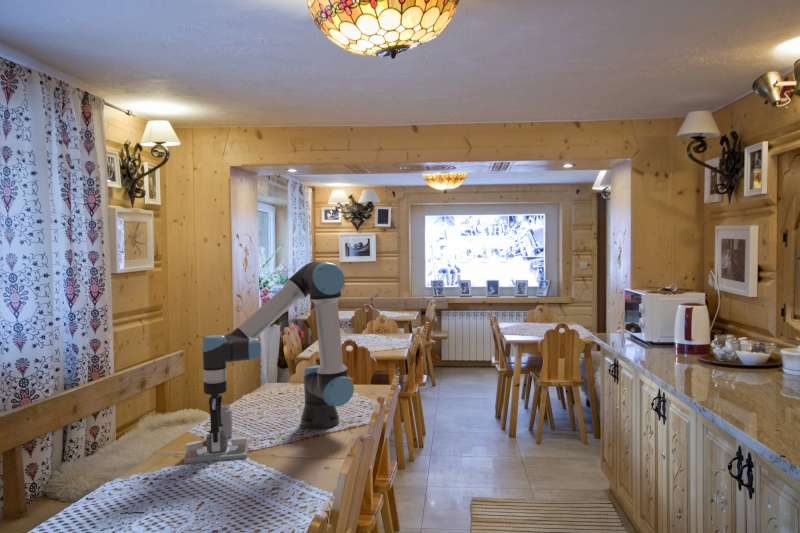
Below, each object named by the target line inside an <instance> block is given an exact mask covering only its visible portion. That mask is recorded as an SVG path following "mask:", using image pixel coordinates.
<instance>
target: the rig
mask: <svg viewBox="0 0 800 533" xmlns="http://www.w3.org/2000/svg"><path fill="white" fill-rule="evenodd" d="M248 450H249V442H248V436H235V437H232V438H231V444H228V448H227V449H225V450H224V452H217V453H210V451H207V446H203V441H202V440H197V441H196V440H195V441H192V442H188V443H185V456H184V459H183V464H184V465H185V464H194V462H197V463H203V462H202V461H208V462H214V461H213V460H219V461H227V460H228V459H229V460H230V461H231V460H240V459H247V456H248Z"/></svg>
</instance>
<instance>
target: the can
mask: <svg viewBox="0 0 800 533" xmlns="http://www.w3.org/2000/svg"><path fill="white" fill-rule="evenodd" d="M221 421H222V422H221V424H223V426H222V427H221V431H224V433H227V437H228V439H229V438H231V436H232V435H233V409H232V407H231V405H230V404H228V403H221Z"/></svg>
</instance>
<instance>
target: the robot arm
mask: <svg viewBox="0 0 800 533" xmlns="http://www.w3.org/2000/svg"><path fill="white" fill-rule="evenodd" d="M345 280H346V279H345V274H344V271H343V270H342V269H341V267H339V265H337V264H335V263H332V262H330V261H312V262H309V263H307V264H305V265H303V266H302V267H301V268H299V269H298V270H297V271H296V272H295V273H294V274H292V276H290V278H288V279H287V280H286V284H285V285H284V286H283V287H282V288H280V290H278V292H276V293H275V294H274V295H273V296H272V297H271V298H269V299H268V300H267V301H266V302H265V303H264V304H263V305H262V306H260V307H259V308H258V309H257V310H256V311H255V312H253V313H251V315H249V317H247V319H245V320H244V321H243V322H242V323H241V324H239V325H238V326H237V327H236V328H235V329H234V330H232V331H231V332H229V333H226V334H212V335H210V334H209V335H206V336H204V337H203V339H202V349H201V350H202V365H203V366H202V369H203V370H202V372H201V373H200V374H201V375H202V376H203V378H202V379H203V393H204V394H205V395H210V397H209V399H208V405H209V414H210V415H209V417H210V418H209V419H210V431H208V434H210V433H211V442H212V452H217V451H220V432H219V431H221V427H222V426H223V424H221V422H222V421H221V404H222V403H223V398H222V395H221V394H224V393H226V392H227V388H228V387H227V381H226V380H227V378H228V377H227V363H233V362H242V361H252V360H256V359H257V360H258V359H259V358H260V357H261V355H262V346H261V341H260V339H259V338H258V337H259V336H261V334H262V333H263V332H264V331H266V329H267V328H269V327H270V326H271V325H273V323H275V322H276V321H277V320H278V319H279V318H280V317H281V316H282V315H283V314H284V313H286V312H287V311H288V310H289V309H290V308H292V306H294V305H295V304H296V303H297V302H298V301H299V300H304V299H305V298H306V297H308V296H309V299H310V301H311V302H313V304H314V309H315V320H316V322H315V323H316V331H317V333H316V334H317V342H318V343H317V344H318V353H319V354H318V355H319V363H320V365H319V364H318V365H313V366H307V367H305V368H304V370H303V383H304V384H303V385H304V387H303V388H304V407H303V411H302V414H301V418H300V425H301V427H304V428H307V429H317V430H318V429H326V428H331V427H334V426H336V425H338V424H339V423H340V417H339V413H338V409H337V407H342V406H344V405H346V404H348V403H349V402H350V400H351V399H352V398H353V395H354V391H355V386H354V385H355V384H354V383H353V381H352V380H351V378H350V377H349V372H348V371H349V370H348V367H347V366H346V365H345V364H344V360H343V359H344V358H343V349H342V340H341V339H342V338H341V328H340V327H341V325H340V315H339V314H340V313H339V300H340V299H341V298H342V294H341V293H342V291H341V290H342V289H343V288H344V285H345Z"/></svg>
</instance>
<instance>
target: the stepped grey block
mask: <svg viewBox="0 0 800 533" xmlns="http://www.w3.org/2000/svg"><path fill="white" fill-rule="evenodd" d="M219 432H220V451H217V452H224V450H225V449H227V448H228V445H229V440H228V439H229V438H228V437H227V433H224V431H219ZM205 438H206V440H205V442H206V447H207V451H210V453H217V452H212V442H211V433H207V434H206V437H205Z"/></svg>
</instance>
